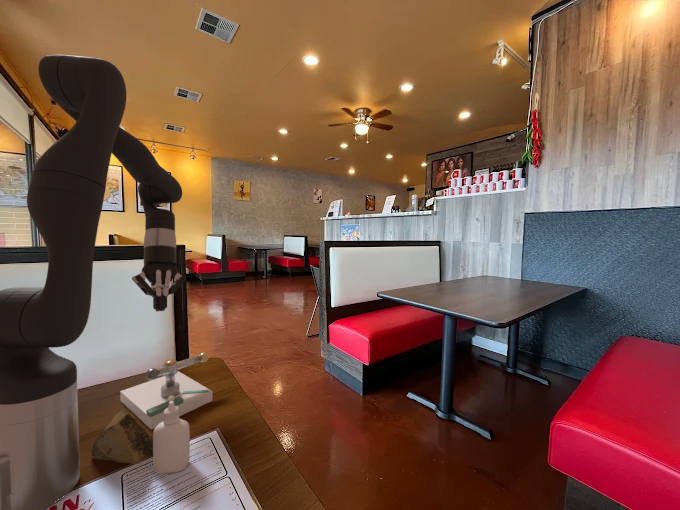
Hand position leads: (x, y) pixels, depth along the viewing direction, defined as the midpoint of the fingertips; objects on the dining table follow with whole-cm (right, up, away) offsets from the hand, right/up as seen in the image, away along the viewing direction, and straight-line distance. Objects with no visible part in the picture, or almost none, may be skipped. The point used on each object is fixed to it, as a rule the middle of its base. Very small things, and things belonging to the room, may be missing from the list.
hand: (160, 310), depth 76 cm
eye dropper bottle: (+17, -24, -24) cm, 38 cm away
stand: (+4, -22, -3) cm, 23 cm away
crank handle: (+7, -17, -3) cm, 19 cm away
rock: (+7, -24, -21) cm, 32 cm away
